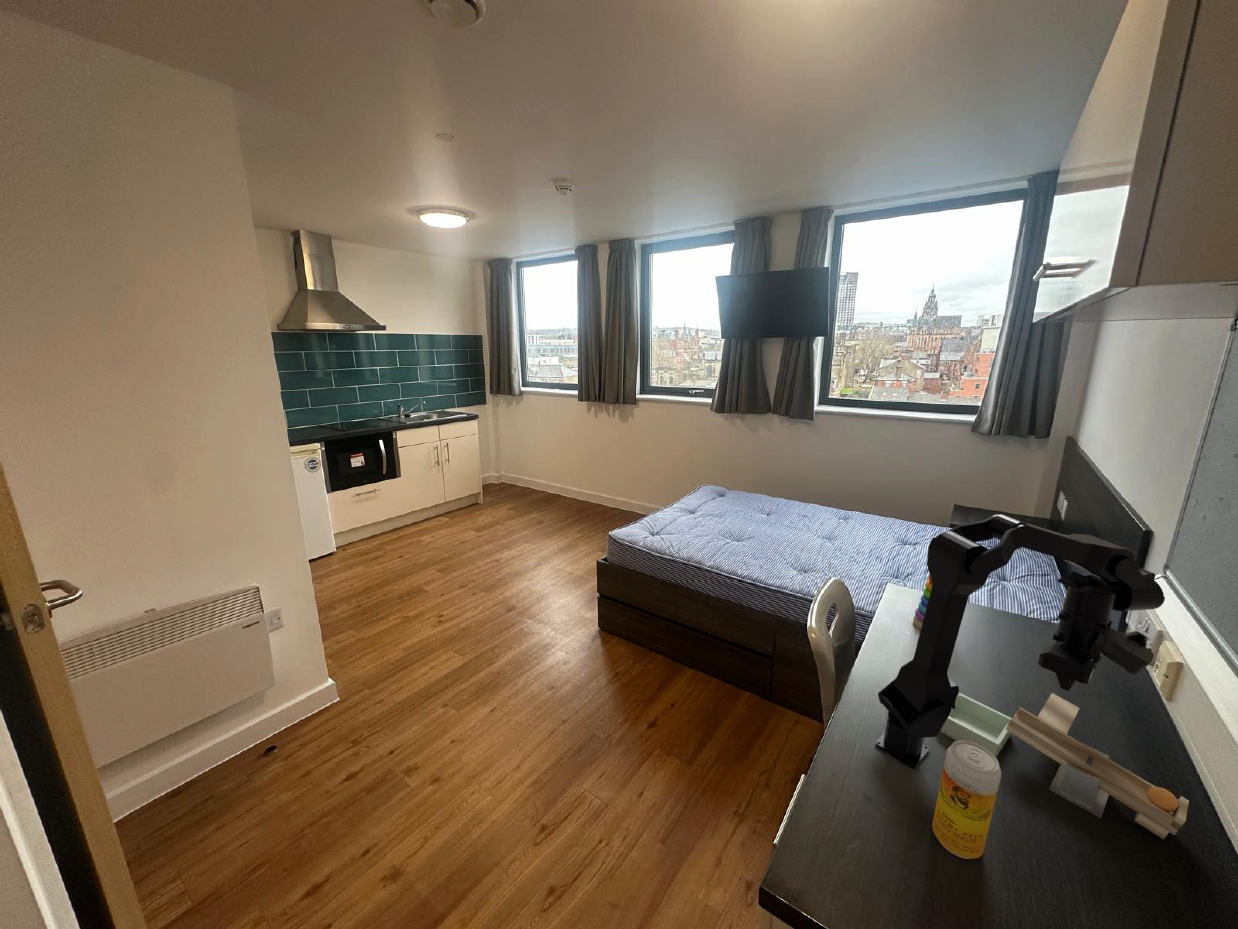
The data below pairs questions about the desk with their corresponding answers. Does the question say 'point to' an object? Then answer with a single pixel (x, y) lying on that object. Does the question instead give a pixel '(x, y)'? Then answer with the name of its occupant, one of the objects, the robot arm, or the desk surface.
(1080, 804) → the silver support block
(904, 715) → the robot arm
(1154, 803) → the ball
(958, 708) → the tray
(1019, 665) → the desk surface
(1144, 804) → the lever
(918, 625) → the stacking toy
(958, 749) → the beer can
